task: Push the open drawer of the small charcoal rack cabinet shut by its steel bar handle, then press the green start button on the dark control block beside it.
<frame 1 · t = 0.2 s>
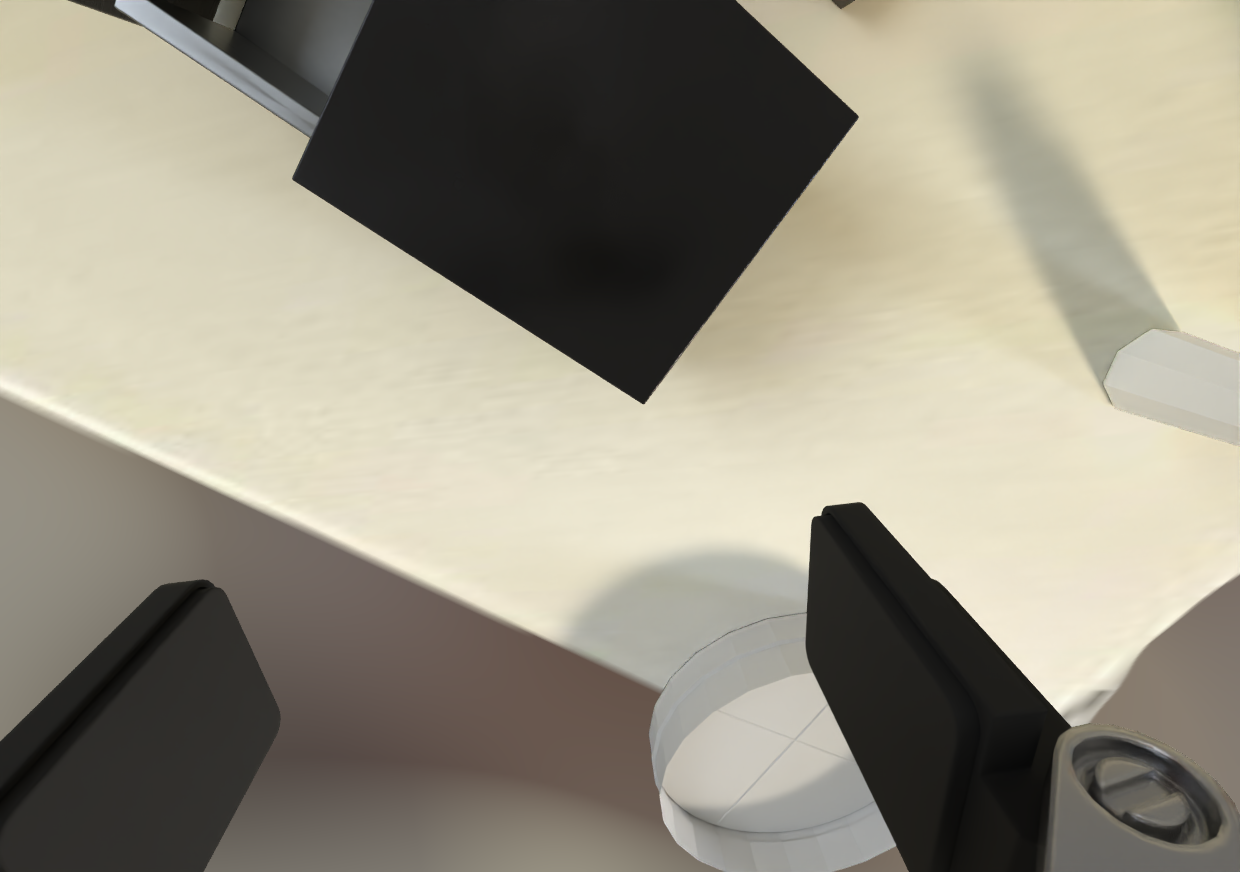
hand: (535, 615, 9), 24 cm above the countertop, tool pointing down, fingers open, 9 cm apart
cabinet: (577, 156, 28), on the countertop
salt shaker: (1143, 369, 35), on the countertop
dish: (787, 722, 46), on the countertop
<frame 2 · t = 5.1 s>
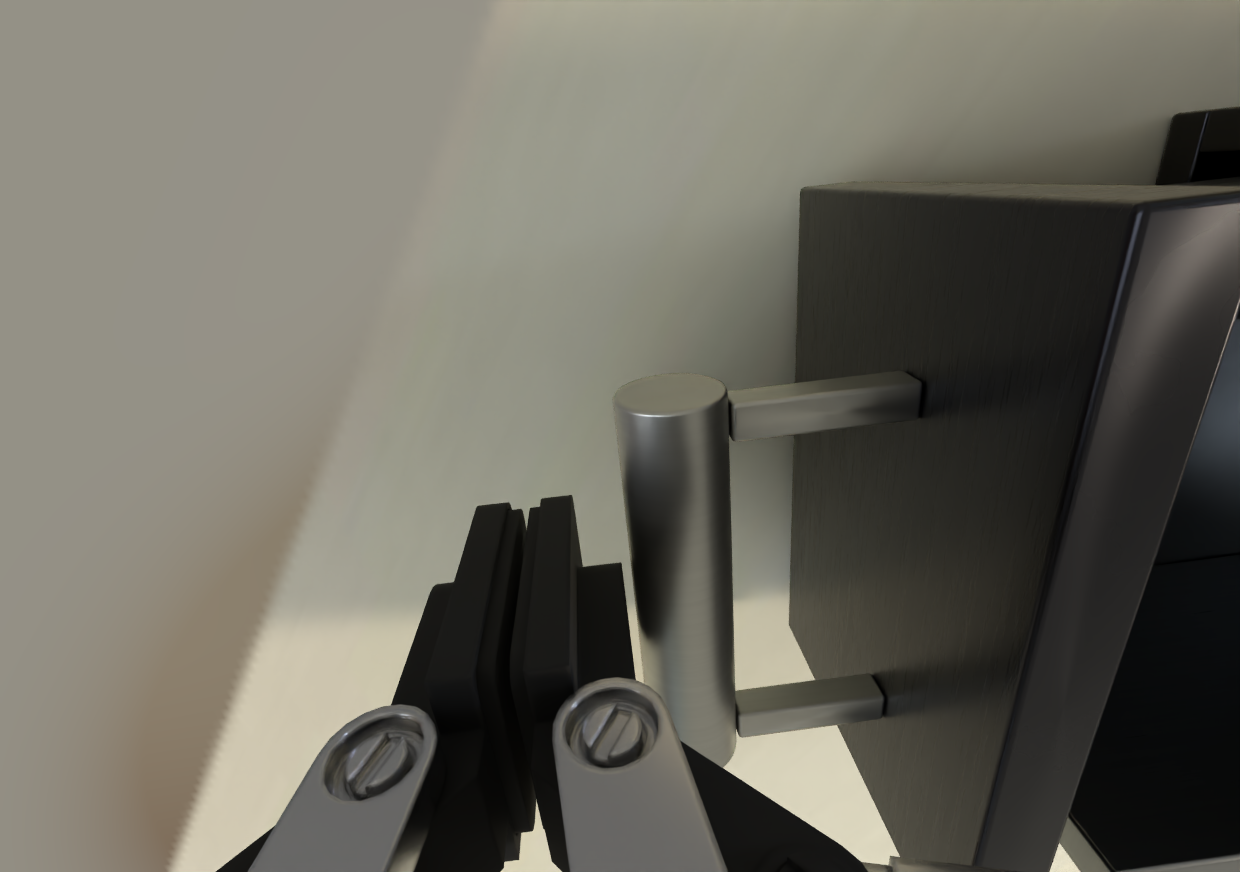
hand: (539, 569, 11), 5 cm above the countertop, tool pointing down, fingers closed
drawer: (1113, 500, 11), point 5 cm above the countertop, slide at 7.2 cm, touching gripper
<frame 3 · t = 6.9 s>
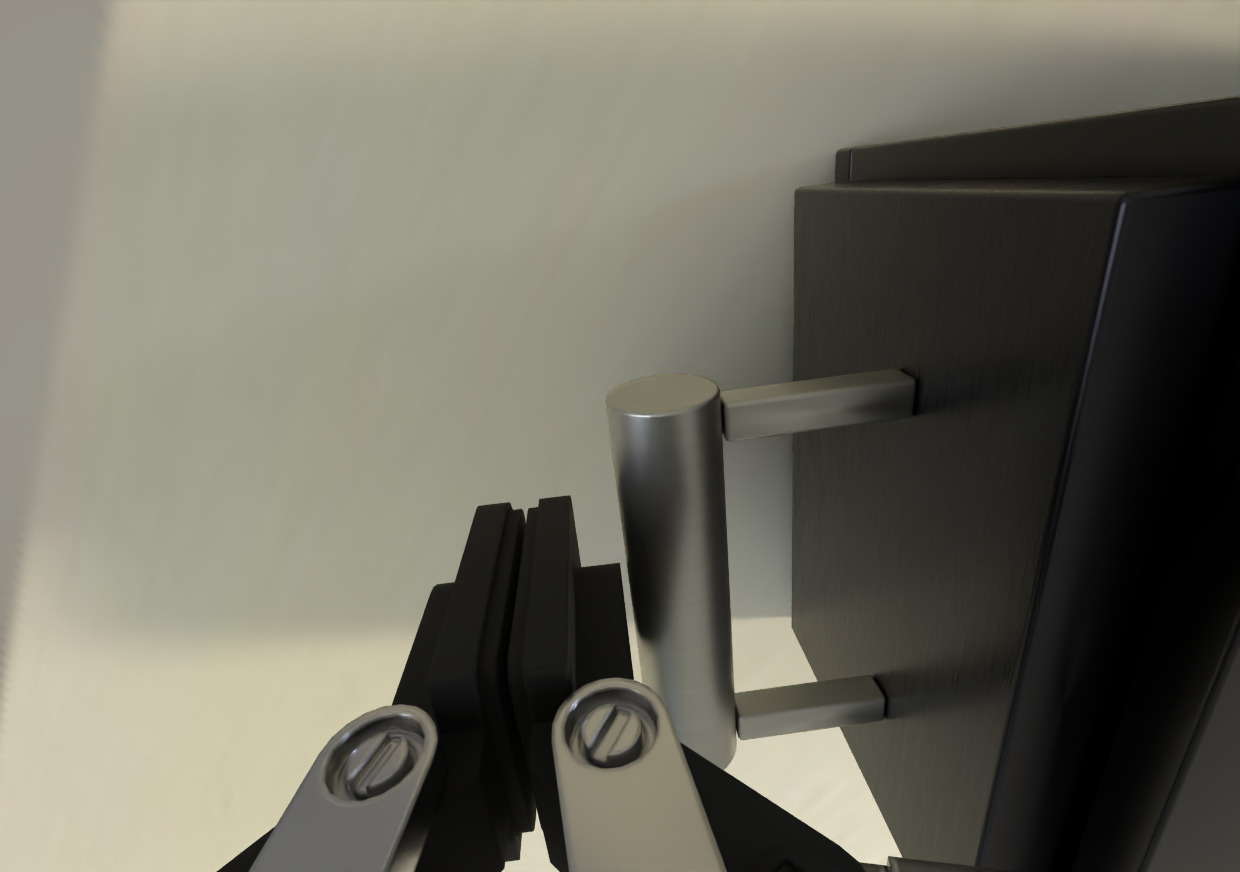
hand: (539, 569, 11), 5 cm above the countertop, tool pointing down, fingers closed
cabinet: (1105, 386, 15), on the countertop
drawer: (1115, 498, 11), point 5 cm above the countertop, slide at 0.0 cm, touching cabinet, gripper
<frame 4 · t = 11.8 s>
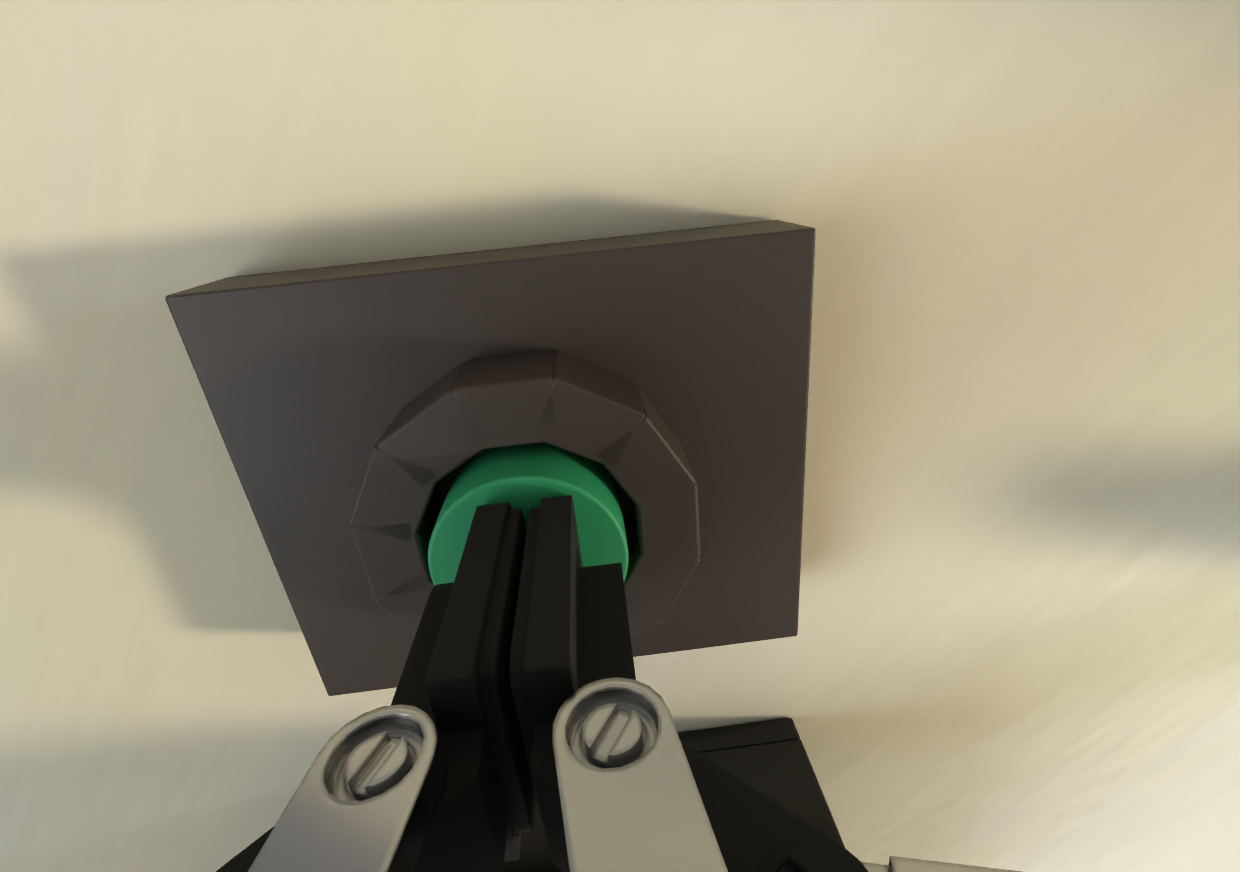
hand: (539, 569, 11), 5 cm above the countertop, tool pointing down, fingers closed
control block: (541, 453, 15), on the countertop
cabinet: (594, 861, 22), on the countertop
start button: (532, 538, 11), point 4 cm above the countertop, slide at -0.6 cm, touching gripper
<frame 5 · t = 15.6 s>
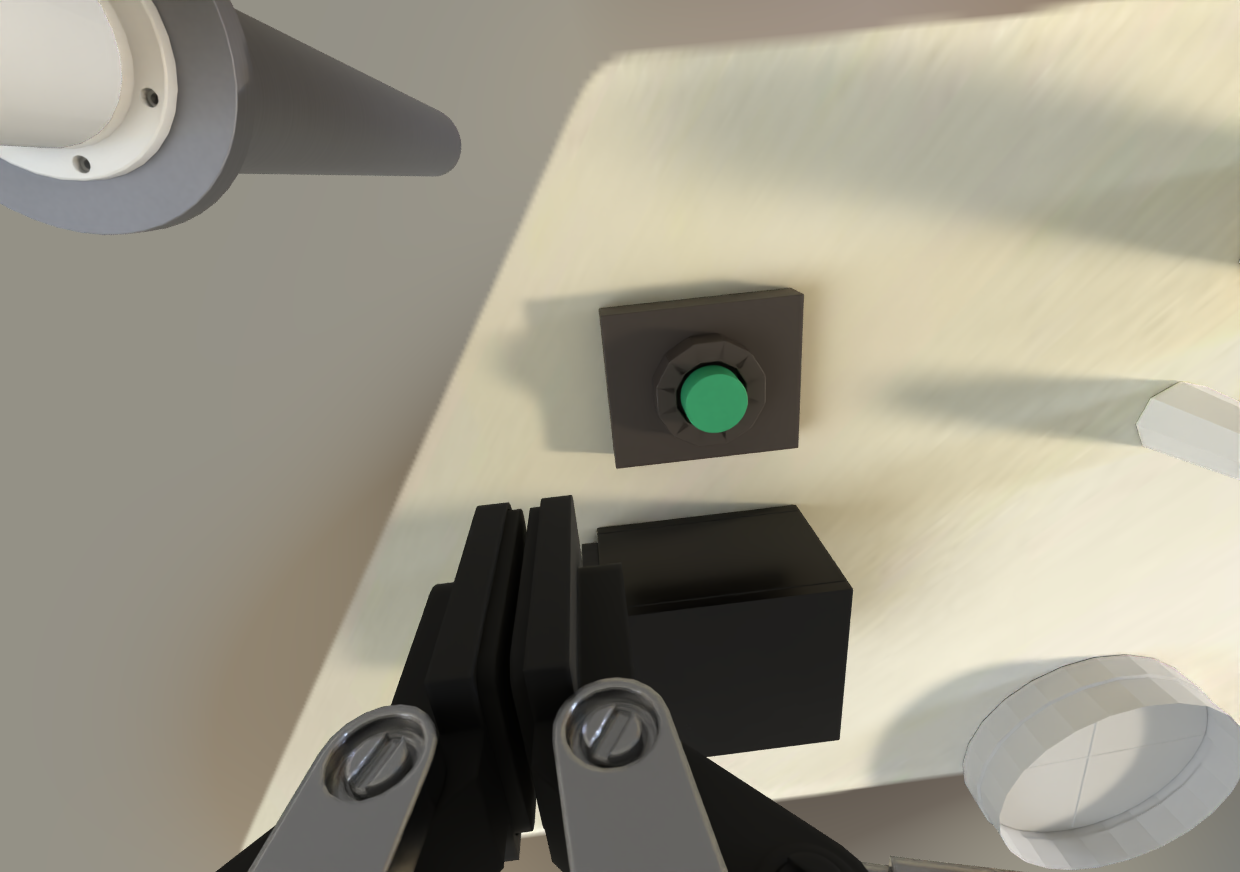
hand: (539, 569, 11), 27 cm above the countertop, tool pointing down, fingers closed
control block: (698, 375, 38), on the countertop
cabinet: (700, 585, 45), on the countertop
start button: (713, 399, 34), point 4 cm above the countertop, slide at 0.1 cm
salt shaker: (1169, 415, 42), on the countertop
drawer: (657, 636, 40), point 5 cm above the countertop, slide at 0.0 cm
dish: (1075, 741, 56), on the countertop
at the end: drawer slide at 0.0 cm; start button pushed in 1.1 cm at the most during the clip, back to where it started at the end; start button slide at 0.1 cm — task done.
